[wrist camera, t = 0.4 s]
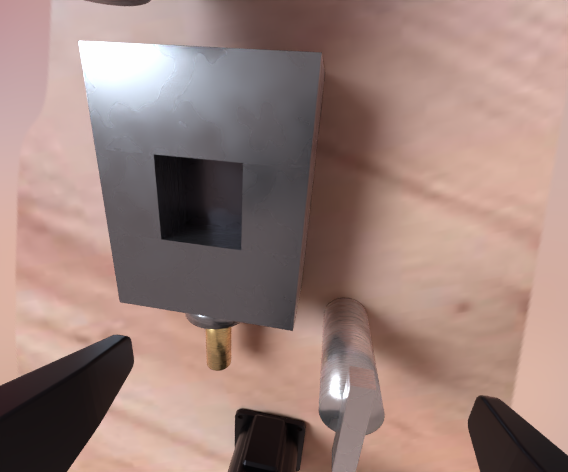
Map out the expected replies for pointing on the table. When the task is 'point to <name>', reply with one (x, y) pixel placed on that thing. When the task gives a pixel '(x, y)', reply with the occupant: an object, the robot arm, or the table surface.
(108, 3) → the pneumatic valve
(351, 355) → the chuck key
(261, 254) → the block
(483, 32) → the table surface
